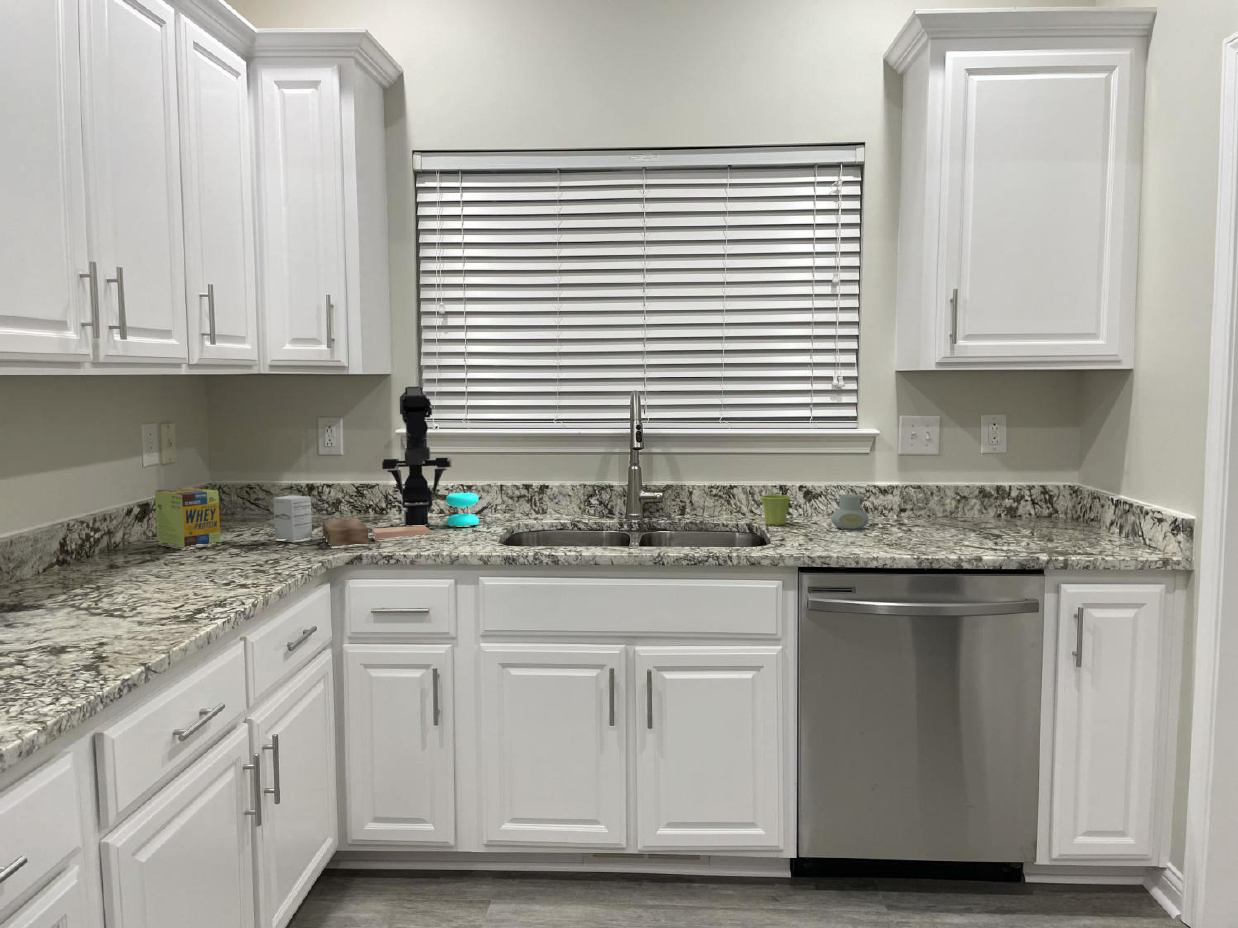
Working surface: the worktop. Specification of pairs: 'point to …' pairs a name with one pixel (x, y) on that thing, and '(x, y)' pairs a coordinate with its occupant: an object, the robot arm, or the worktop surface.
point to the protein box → (187, 516)
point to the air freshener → (850, 513)
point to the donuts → (461, 501)
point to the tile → (399, 531)
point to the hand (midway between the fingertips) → (418, 493)
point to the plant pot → (775, 508)
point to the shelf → (345, 532)
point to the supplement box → (292, 517)
